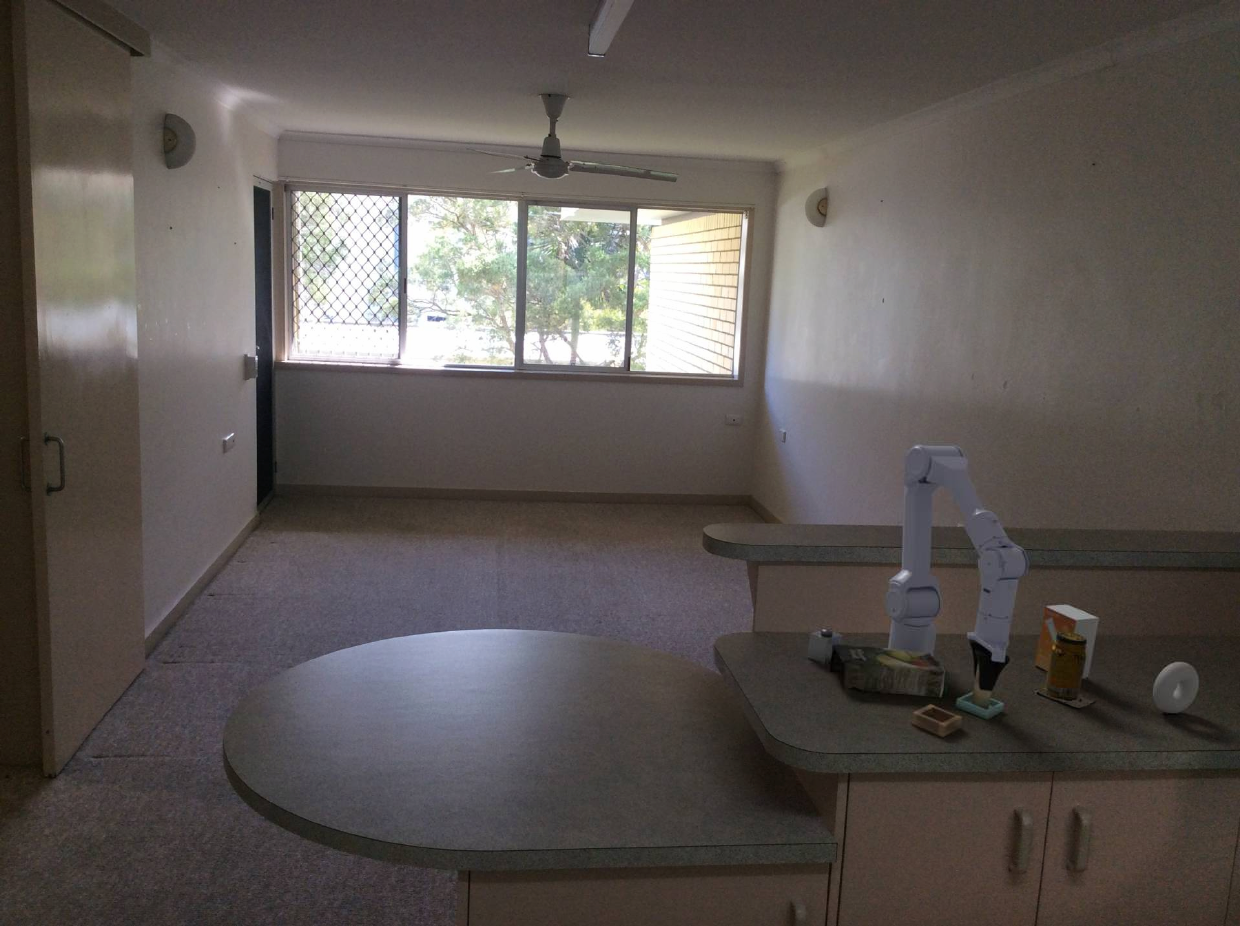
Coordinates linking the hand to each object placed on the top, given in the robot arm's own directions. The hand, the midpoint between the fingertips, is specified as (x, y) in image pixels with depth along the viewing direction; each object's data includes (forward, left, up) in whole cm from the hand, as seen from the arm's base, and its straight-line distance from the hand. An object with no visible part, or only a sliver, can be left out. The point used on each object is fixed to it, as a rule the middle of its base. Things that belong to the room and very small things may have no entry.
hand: (983, 685), depth 179 cm
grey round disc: (-31, +22, -5) cm, 38 cm away
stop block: (+5, -30, -5) cm, 31 cm away
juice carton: (+5, -16, -5) cm, 18 cm away
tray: (0, 0, -5) cm, 5 cm away
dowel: (0, 0, -4) cm, 4 cm away
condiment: (-20, +7, -5) cm, 22 cm away
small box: (-32, +1, -5) cm, 32 cm away
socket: (+14, -1, -5) cm, 14 cm away
